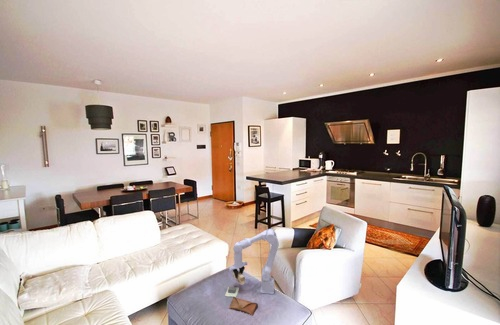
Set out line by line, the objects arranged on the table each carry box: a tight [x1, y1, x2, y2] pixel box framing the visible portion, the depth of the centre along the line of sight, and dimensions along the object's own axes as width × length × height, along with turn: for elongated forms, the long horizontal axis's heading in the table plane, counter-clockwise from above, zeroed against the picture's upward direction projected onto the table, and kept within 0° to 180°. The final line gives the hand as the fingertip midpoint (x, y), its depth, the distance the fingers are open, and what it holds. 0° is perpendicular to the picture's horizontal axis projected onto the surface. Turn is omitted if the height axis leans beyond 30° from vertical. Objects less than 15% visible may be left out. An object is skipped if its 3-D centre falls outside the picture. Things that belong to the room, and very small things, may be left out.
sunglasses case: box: [228, 297, 259, 317], centre depth 147 cm, size 18×7×7 cm, turn 68°
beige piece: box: [232, 270, 246, 286], centre depth 165 cm, size 12×3×5 cm, turn 35°
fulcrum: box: [224, 286, 240, 298], centre depth 162 cm, size 8×10×3 cm
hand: (238, 277), depth 165 cm, fingers closed on beige piece, 3 cm apart
